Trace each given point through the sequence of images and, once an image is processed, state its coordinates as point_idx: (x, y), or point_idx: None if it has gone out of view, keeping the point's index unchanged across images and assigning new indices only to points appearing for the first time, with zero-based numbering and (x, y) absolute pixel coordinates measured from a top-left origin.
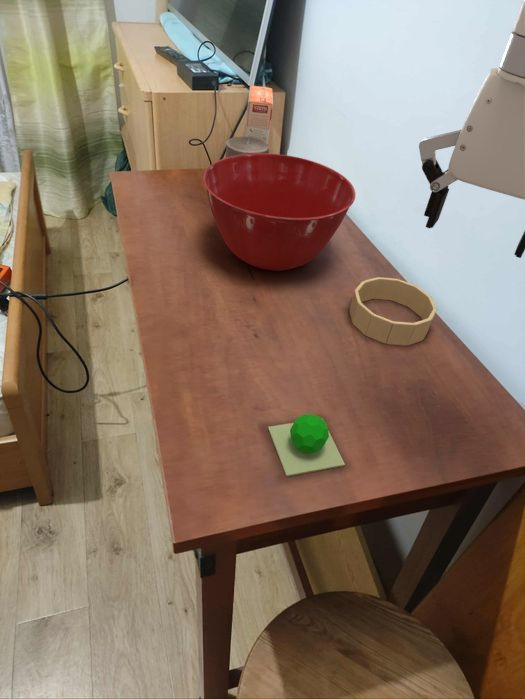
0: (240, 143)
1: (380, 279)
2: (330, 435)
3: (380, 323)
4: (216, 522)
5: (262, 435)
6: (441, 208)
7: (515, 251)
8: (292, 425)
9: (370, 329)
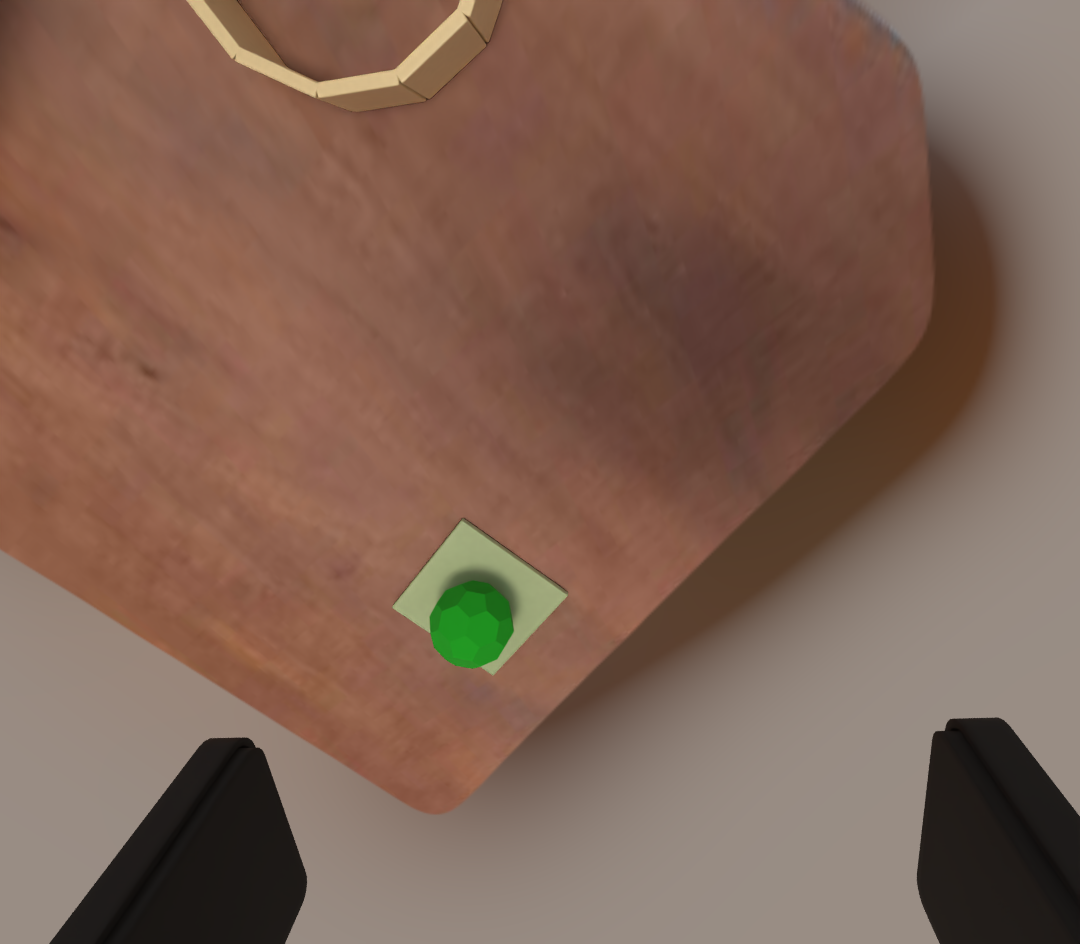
0: None
1: None
2: (503, 550)
3: (364, 96)
4: (462, 785)
5: (397, 622)
6: (210, 887)
7: (923, 848)
8: (426, 576)
9: (352, 106)
